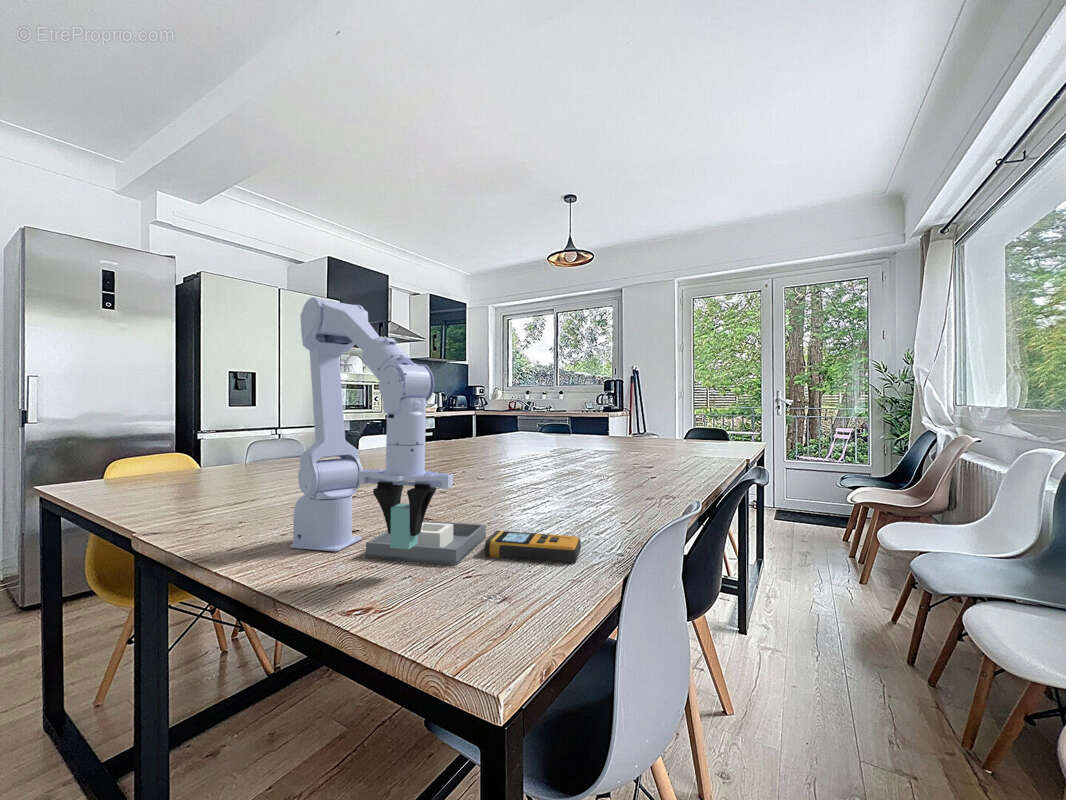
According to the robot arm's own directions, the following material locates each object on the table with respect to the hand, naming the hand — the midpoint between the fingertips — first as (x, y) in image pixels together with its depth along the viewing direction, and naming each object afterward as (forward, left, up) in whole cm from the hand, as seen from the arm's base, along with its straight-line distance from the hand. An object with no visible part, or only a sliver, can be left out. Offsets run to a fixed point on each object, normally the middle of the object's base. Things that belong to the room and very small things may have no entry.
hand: (404, 533), depth 74 cm
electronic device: (+17, +15, -7) cm, 24 cm away
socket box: (-2, +14, -6) cm, 15 cm away
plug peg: (0, 0, -2) cm, 2 cm away
